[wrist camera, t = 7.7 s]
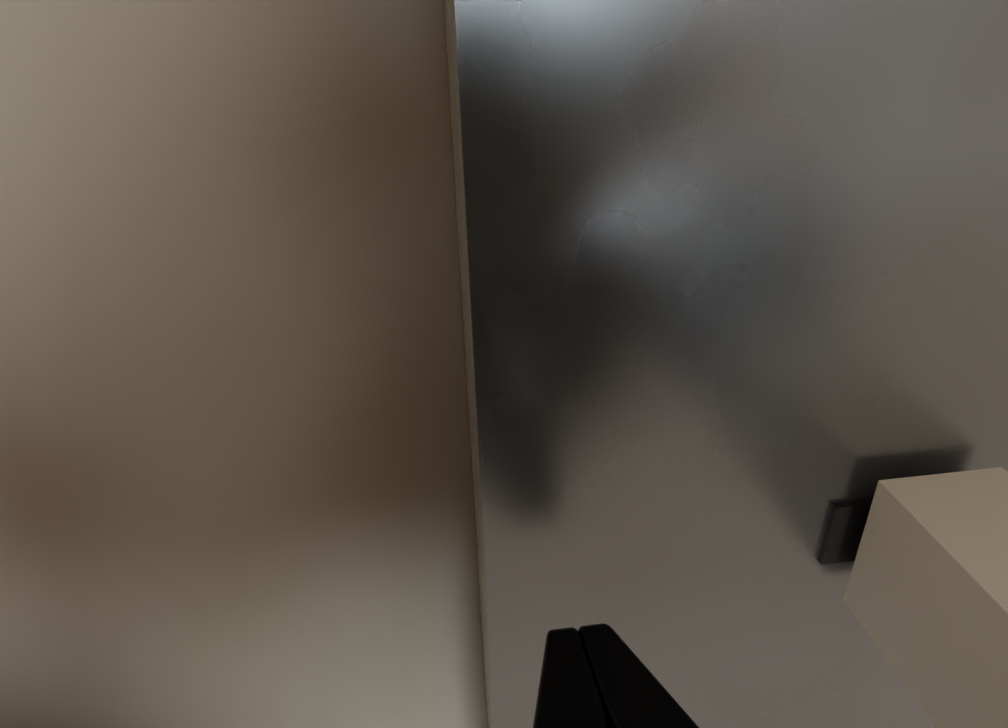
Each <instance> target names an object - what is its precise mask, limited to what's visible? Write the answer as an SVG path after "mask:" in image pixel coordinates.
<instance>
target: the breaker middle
mask: <svg viewBox="0 0 1008 728" xmlns="http://www.w3.org/2000/svg"><path fill="white" fill-rule="evenodd" d="M843 600H844V601H845V603H846V604H847V606H848V607H849V608H850V610H851V611H852V612H853V614H854V615H855V617H856V618H857V619H858V621H859V622H860V624H861V625H862V626H863V628H864V629H865V630H866V632H867V633H868V635H869V636H870V637H871V639H872V640H873V642H874V643H875V644H876V646H877V647H878V648H879V650H880V651H881V653H882V654H883V655H884V657H885V658H886V660H887V661H888V662H889V664H890V665H891V666H892V668H893V669H894V671H895V672H896V673H897V675H898V676H899V678H900V679H901V680H902V682H903V683H904V684H905V686H906V687H907V689H908V690H909V691H910V693H911V694H912V696H913V697H914V698H915V700H916V701H917V702H918V704H919V705H920V707H921V708H922V709H923V711H924V712H925V714H926V715H927V716H928V718H929V719H930V720H931V722H932V723H933V725H934V726H935V727H936V728H1008V472H1007V471H1006V470H1005V469H1004V468H1002V467H997V468H988V469H979V470H970V471H961V472H951V473H942V474H933V475H924V476H915V477H905V478H896V479H887V480H879V481H878V484H877V487H876V491H875V494H874V498H873V501H872V504H871V508H870V511H869V514H868V518H867V521H866V525H865V528H864V531H863V535H862V538H861V541H860V545H859V548H858V551H857V555H856V558H855V562H854V565H853V568H852V572H851V575H850V578H849V582H848V585H847V589H846V592H845V595H844V599H843Z"/></svg>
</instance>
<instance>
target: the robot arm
mask: <svg viewBox="0 0 1008 728" xmlns="http://www.w3.org/2000/svg"><path fill="white" fill-rule="evenodd" d="M533 728H699V727H698V726H697V724H696V723H695V722H694V721H693V720H692V719H691V718H690V716H689V715H688V714H687V713H686V712H685V711H684V710H683V708H682V707H681V706H680V705H679V704H678V703H677V702H676V700H675V699H674V698H673V697H672V696H671V695H670V694H669V692H668V691H667V690H666V689H665V688H664V687H663V686H662V684H661V683H660V682H659V681H658V680H657V679H656V678H655V676H654V675H653V674H652V673H651V672H650V671H649V670H648V668H647V667H646V666H645V665H644V664H643V663H642V662H641V660H640V659H639V658H638V657H637V656H636V655H635V654H634V652H633V651H632V650H631V649H630V648H629V647H628V646H627V644H626V643H625V642H624V641H623V640H622V639H621V638H620V636H619V635H618V634H617V633H616V632H615V631H614V630H613V629H612V628H611V626H609V625H607V624H605V623H600V624H592V625H584V626H581V627H580V628H579V629H578V631H577V629H576V628H574V627H569V628H561V629H553V630H550V631H548V633H547V636H546V642H545V649H544V655H543V662H542V669H541V675H540V682H539V689H538V695H537V702H536V709H535V715H534V722H533Z"/></svg>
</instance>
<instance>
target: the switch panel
mask: <svg viewBox="0 0 1008 728" xmlns="http://www.w3.org/2000/svg"><path fill="white" fill-rule="evenodd" d="M444 9H445V26H446V42H447V59H448V75H449V92H450V108H451V125H452V141H453V158H454V174H455V191H456V207H457V224H458V240H459V257H460V273H461V290H462V306H463V323H464V339H465V356H466V372H467V389H468V405H469V422H470V438H471V455H472V471H473V488H474V504H475V521H476V537H477V554H478V570H479V587H480V603H481V620H482V636H483V653H484V669H485V686H486V702H487V719H488V728H533V722H534V715H535V709H536V702H537V695H538V689H539V682H540V675H541V669H542V662H543V655H544V649H545V642H546V636H547V633H548V631H550V630H553V629H561V628H569V627H574V628H576V629H577V631H578V629H579V628H580V627H581V626H584V625H592V624H600V623H605V624H607V625H609V626H611V628H612V629H613V630H614V631H615V632H616V633H617V634H618V635H619V636H620V638H621V639H622V640H623V641H624V642H625V643H626V644H627V646H628V647H629V648H630V649H631V650H632V651H633V652H634V654H635V655H636V656H637V657H638V658H639V659H640V660H641V662H642V663H643V664H644V665H645V666H646V667H647V668H648V670H649V671H650V672H651V673H652V674H653V675H654V676H655V678H656V679H657V680H658V681H659V682H660V683H661V684H662V686H663V687H664V688H665V689H666V690H667V691H668V692H669V694H670V695H671V696H672V697H673V698H674V699H675V700H676V702H677V703H678V704H679V705H680V706H681V707H682V708H683V710H684V711H685V712H686V713H687V714H688V715H689V716H690V718H691V719H692V720H693V721H694V722H695V723H696V724H697V726H698V727H699V728H936V727H935V726H934V725H933V723H932V722H931V720H930V719H929V718H928V716H927V715H926V714H925V712H924V711H923V709H922V708H921V707H920V705H919V704H918V702H917V701H916V700H915V698H914V697H913V696H912V694H911V693H910V691H909V690H908V689H907V687H906V686H905V684H904V683H903V682H902V680H901V679H900V678H899V676H898V675H897V673H896V672H895V671H894V669H893V668H892V666H891V665H890V664H889V662H888V661H887V660H886V658H885V657H884V655H883V654H882V653H881V651H880V650H879V648H878V647H877V646H876V644H875V643H874V642H873V640H872V639H871V637H870V636H869V635H868V633H867V632H866V630H865V629H864V628H863V626H862V625H861V624H860V622H859V621H858V619H857V618H856V617H855V615H854V614H853V612H852V611H851V610H850V608H849V607H848V606H847V604H846V603H845V601H844V600H843V599H844V595H845V592H846V589H847V585H848V582H849V578H850V575H851V572H852V568H853V565H854V562H855V558H856V555H857V551H858V548H859V545H860V541H861V538H862V535H863V531H864V528H865V525H866V521H867V518H868V514H869V511H870V508H871V504H872V501H873V498H874V494H875V491H876V487H877V484H878V481H879V480H887V479H896V478H905V477H915V476H924V475H933V474H942V473H951V472H961V471H970V470H979V469H988V468H997V467H1002V468H1004V469H1005V470H1006V471H1007V472H1008V0H444Z"/></svg>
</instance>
